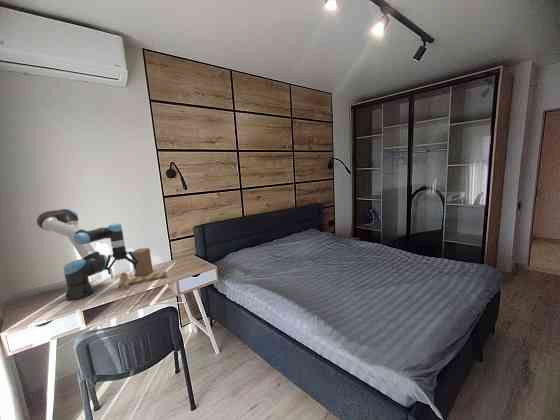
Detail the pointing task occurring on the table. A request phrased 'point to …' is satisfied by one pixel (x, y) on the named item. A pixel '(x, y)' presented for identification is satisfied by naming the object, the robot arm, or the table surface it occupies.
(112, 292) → the table surface
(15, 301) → the table surface
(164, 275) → the board
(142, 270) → the wooden block
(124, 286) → the gauge
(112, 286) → the table surface
